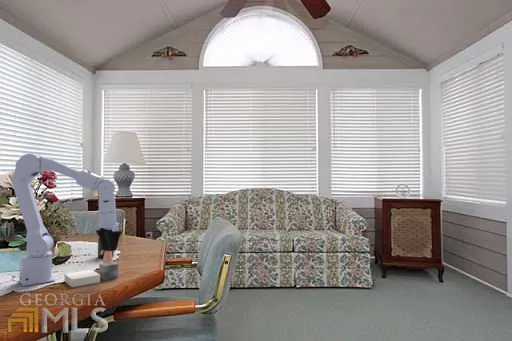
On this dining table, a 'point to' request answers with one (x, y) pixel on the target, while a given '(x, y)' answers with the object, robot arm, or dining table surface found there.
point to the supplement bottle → (100, 250)
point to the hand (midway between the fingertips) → (109, 249)
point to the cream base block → (82, 278)
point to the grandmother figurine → (107, 255)
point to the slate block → (108, 270)
